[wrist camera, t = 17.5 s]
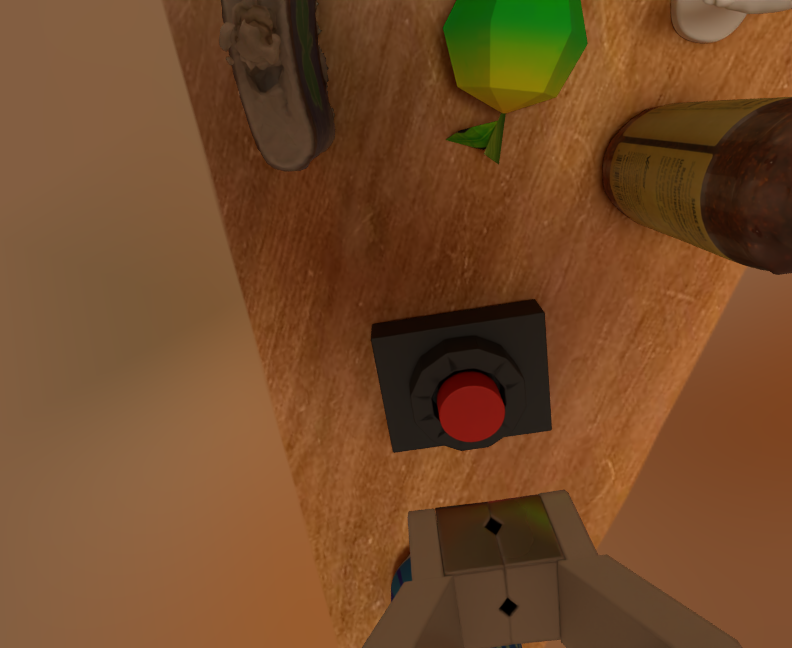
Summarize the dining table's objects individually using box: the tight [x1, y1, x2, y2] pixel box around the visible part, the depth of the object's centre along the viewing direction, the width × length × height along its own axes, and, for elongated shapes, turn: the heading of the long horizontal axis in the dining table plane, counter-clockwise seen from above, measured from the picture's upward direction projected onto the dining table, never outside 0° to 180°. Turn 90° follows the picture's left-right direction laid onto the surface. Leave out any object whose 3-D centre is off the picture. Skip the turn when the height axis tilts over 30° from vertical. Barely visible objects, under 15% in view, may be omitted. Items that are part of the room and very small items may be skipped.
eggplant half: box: [219, 0, 335, 171], centre depth 23 cm, size 9×3×11 cm, turn 5°
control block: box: [371, 300, 552, 453], centre depth 33 cm, size 10×8×4 cm
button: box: [437, 371, 505, 442], centre depth 31 cm, size 4×4×2 cm
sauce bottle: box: [603, 97, 792, 275], centre depth 21 cm, size 6×6×20 cm
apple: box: [443, 0, 588, 164], centre depth 26 cm, size 7×6×9 cm
